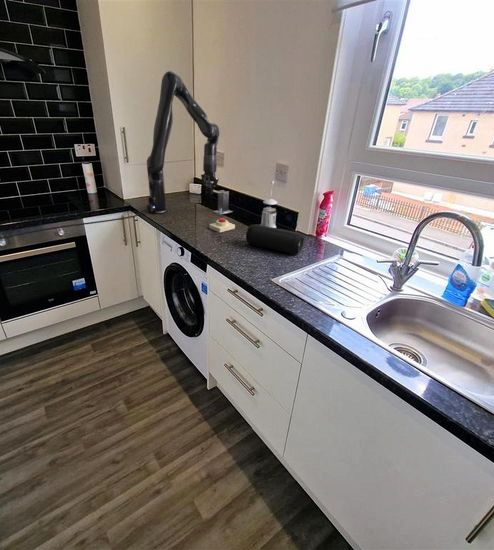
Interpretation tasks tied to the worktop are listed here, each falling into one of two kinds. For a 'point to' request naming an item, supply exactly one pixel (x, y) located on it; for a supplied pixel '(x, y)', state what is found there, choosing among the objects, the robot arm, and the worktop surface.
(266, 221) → the french press
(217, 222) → the control block
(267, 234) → the portable speaker
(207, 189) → the lever
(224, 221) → the button
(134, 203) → the worktop surface
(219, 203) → the bracket
